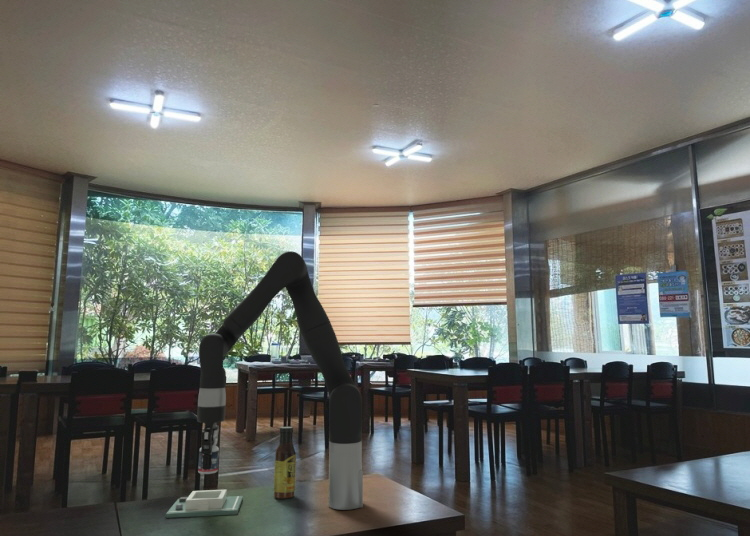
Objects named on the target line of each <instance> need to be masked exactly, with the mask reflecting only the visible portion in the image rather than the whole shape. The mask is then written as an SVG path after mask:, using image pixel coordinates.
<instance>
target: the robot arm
mask: <svg viewBox="0 0 750 536" xmlns="http://www.w3.org/2000/svg"><path fill="white" fill-rule="evenodd" d="M283 289H285V290H286V292H287V293H288V295H289V298H290V299H291V302H292V305H293V308H294V312H295V313H294V314H295V317H296V321H297V325H298V328H299V331H300V334H301V337H302V339H303V341H304V344H305V346H306V348H307V351H308V352H309V354H310V356H311V358H312V359H313V361H314V363H315V364H316V367H318V370H319V372H320V373H321V375H322V377H323V380H324V383H325V386H326V389H327V393H328V396H329V403H328V404H329V405H328V406H329V407H328V409H329V410H328V412H329V413H328V417H329V418H328V421H329V422H328V423H329V425H328V431H329V432H328V433H329V434H328V436H329V441H328V443H329V447H328V451H329V452H328V454H329V456H328V507H330V509H334V510H340V511H345V510H355V509H359V508H363V507H364V505H363V504H364V480H363V479H364V471H363V469H362V466H363V465H362V464H363V463H362V462H363V459H362V457H363V456H362V455H363V454H362V451H363V449H362V448H363V446H362V443H363V442H362V441H363V438H362V437H363V436H362V435H363V398H362V394H361V391H360V390H359V388H358V387H357V386H356V384H355V382H354V380H353V378H352V377H351V374H350V373H349V370H348V369H347V367H346V365H345V362H344V359H343V355H342V350H341V347H340V344H339V341H338V338H337V334H336V333H335V330H334V328H333V326H332V325H333V324H332V323H331V320H330V319H329V317H328V315H327V312H326V311H325V309H324V307H323V305H322V303H321V302H320V300H319V299H318V297H317V295H316V293H315V290H314V286H313V285H312V281H311V279H310V275H309V270H308V267H307V263H306V262H305V260H304V257H302V256H301V255H300V253H298V252H295V251H284V252H282V253H281V254H279V255H278V257H277V258H276V259H275V260H274V262H273V263H272V265H271V266H270V268H268V271H267V272H266V273H265V275H264V276H263V277H262V279H260V281H259V282H258V283H257V285H255V287H254V288H253V289H252V290H251V291H250V292H249V293H248V294H247V295H246V296H245V297H244V298H243V299H242V301H240V302H239V303H238V304H237V306H236V307H234V308H233V310H231V312H229V313H228V315H227V316H226V317H225V318H224V319H223V323H222V325H221V326H219V328H218V329H217V330H216V332H214V333H213V332H212V333H208V334H206V335H205V336H203V337H202V338H201V340H200V342H199V346H198V347H199V348H198V359H199V368H200V376H199V379H200V380H199V390H198V391H199V393H198V397H197V398H198V399H197V412H196V413H197V414H196V415H197V416H196V421H197V423H201V424H204V428H203V429H202V430H201V444H200V445H201V447H200V448H201V454H202V455H203V467H202V468H203V469H204V470H205V469H210V468H211V461H212V453H213V452H212V450H213V446H215V439H216V438H217V442H218V440H219V439H218V438H219V437H218V436H219V431H220V429H219V428H220V427H219V425H217V424H218V423H222V422H224V421H225V420H226V402H227V394H226V380H227V379H226V378H227V372H226V369H225V368H224V357H225V356H226V355H227V354H228V353H229V352H230V351H231V350H232V349H233V347H234V346H235V344H237V342H238V341H239V339H240V338H241V336H242V335H243V334H244V333H245V332H246V331H248V330H249V329H250V328H251V327H252V326H253V325H254V323H255V322H256V321H257V320H258V319H259V318H260V317H261V315H262V314H263V313H264V311H265V310H266V308H267V307H268V306H269V305H270V303H271V301H273V299H274V298H275V297H276V296H277V295H278V294H279V293H280V292H281V291H282V290H283ZM212 441H213V442H212ZM206 446H209V449H205V447H206ZM216 446H217V447H218V443H217V444H216Z"/></svg>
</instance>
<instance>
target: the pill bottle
mask: <svg viewBox="0 0 750 536" xmlns="http://www.w3.org/2000/svg"><path fill="white" fill-rule="evenodd" d="M212 442H213V441H212ZM216 444H217V446H216ZM205 449H209V446H206V447H205ZM212 452H213V453H212V461H211V468H210V469H205V470H204V469H203V468H202V467H203V455H202V454H201V447H200V448H199V453H198V463H197V464H198V467H197V472H198V474H201V475H211V474H215V473H217V472H218V471H219V456H220V455H219V453H220V448H219V446H218V441H217V438H216V439H215V446H213V450H212Z"/></svg>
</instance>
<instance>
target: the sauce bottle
mask: <svg viewBox="0 0 750 536" xmlns="http://www.w3.org/2000/svg"><path fill="white" fill-rule="evenodd" d="M293 433H294V427H293V426H280V427H279V444H278V445H277V447H276V450H275V458H274V473H273V474H274V475H273V479H274V480H273V491H274V492H273V497H274V498H275V499H280V500H285V499H291V498H293V497H294V496H295V491H296V472H297V471H296V467H297V465H296V464H297V453H296V450H295V446H294V443H293Z"/></svg>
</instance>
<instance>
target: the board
mask: <svg viewBox="0 0 750 536" xmlns="http://www.w3.org/2000/svg"><path fill="white" fill-rule="evenodd" d="M227 495H228V489H209V490H208V489H207V490H192V492H191V493H190V494H189V495H188V496H181V497H179V498H177V500H176V501H175V502H174V503H173V505H171V507H170V508H169V509H168V511H167V512H166V513H165V519H167V518H168V519H170V518H188V517H189V518H190V517H209V516H227V515H228V516H229V515H238V514H239V512H240V511H239V510H240V507H241V505H242V502H243V501H244V500H243V497H244V496H243V495H237V496H236V495H235V496H233V495H232V496H231V495H229V496H227Z"/></svg>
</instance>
